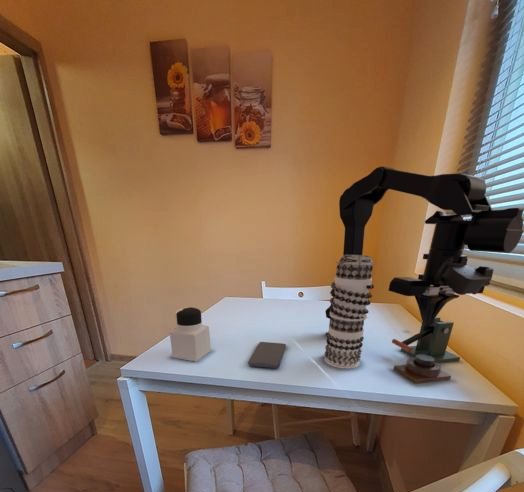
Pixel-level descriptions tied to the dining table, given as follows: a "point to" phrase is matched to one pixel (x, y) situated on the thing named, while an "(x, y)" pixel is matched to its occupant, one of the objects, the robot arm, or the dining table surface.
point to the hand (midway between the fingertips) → (426, 325)
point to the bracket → (435, 343)
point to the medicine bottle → (189, 335)
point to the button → (424, 360)
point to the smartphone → (267, 355)
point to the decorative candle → (348, 310)
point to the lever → (415, 337)
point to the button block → (421, 372)
